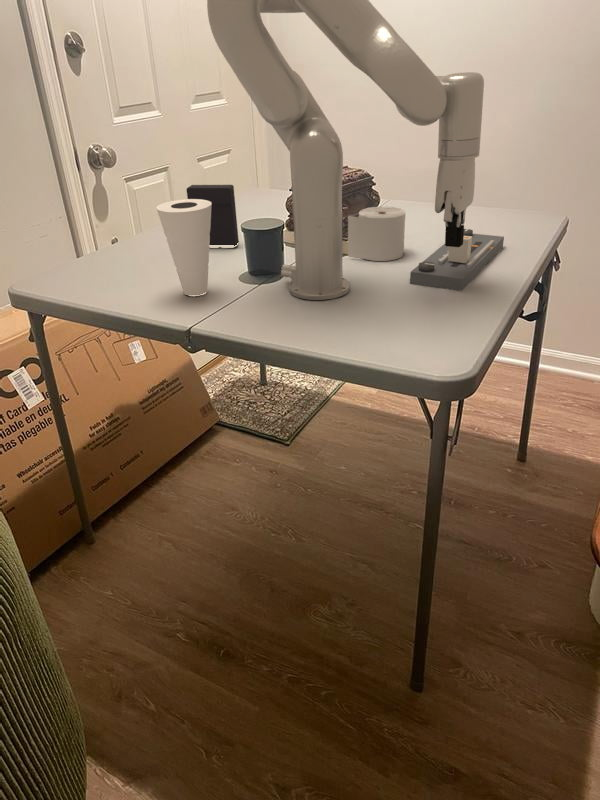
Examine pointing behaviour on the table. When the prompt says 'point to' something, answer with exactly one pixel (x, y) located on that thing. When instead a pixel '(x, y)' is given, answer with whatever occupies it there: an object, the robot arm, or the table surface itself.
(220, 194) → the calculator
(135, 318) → the table surface
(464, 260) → the fader
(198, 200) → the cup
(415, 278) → the console
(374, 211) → the toilet tissue
